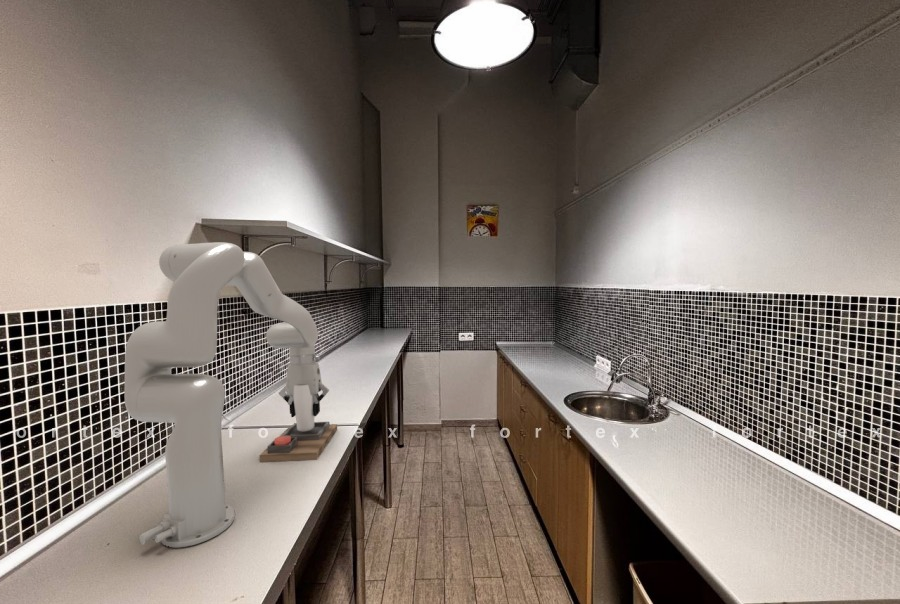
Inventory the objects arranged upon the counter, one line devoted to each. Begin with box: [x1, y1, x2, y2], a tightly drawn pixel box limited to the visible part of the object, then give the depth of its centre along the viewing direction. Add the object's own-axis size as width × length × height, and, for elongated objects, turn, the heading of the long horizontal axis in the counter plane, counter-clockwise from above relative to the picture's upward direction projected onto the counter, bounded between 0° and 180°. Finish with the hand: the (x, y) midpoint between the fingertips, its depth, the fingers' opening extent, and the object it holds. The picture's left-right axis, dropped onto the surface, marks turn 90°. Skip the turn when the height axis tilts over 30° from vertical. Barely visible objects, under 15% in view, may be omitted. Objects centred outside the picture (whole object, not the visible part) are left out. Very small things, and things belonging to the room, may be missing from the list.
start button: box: [273, 435, 291, 446], centre depth 110 cm, size 4×4×2 cm
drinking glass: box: [293, 385, 316, 432], centre depth 121 cm, size 7×7×15 cm
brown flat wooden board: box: [258, 421, 338, 463], centre depth 117 cm, size 22×16×4 cm
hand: (305, 414), depth 121 cm, fingers closed on drinking glass, 6 cm apart
